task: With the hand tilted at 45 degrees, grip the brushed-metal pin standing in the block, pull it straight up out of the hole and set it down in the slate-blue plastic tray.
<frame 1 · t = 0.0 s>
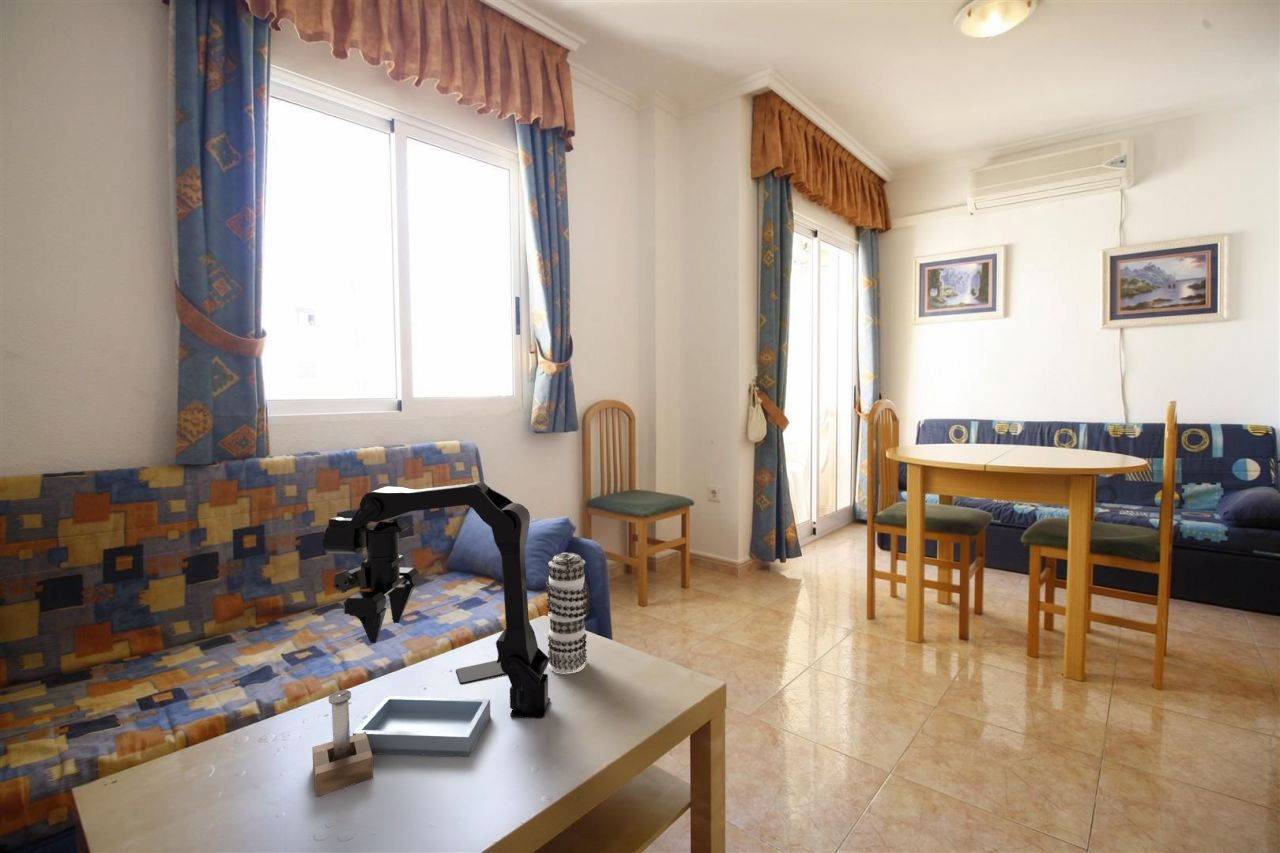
hand: (385, 632, 114), 15 cm above the table, tool pointing down, fingers open, 9 cm apart
metal pin: (341, 734, 95), in the pin block
pin block: (342, 772, 95), on the table
smartphone: (492, 672, 129), on the table
tray: (425, 734, 106), on the table
decorative candle: (567, 666, 131), on the table
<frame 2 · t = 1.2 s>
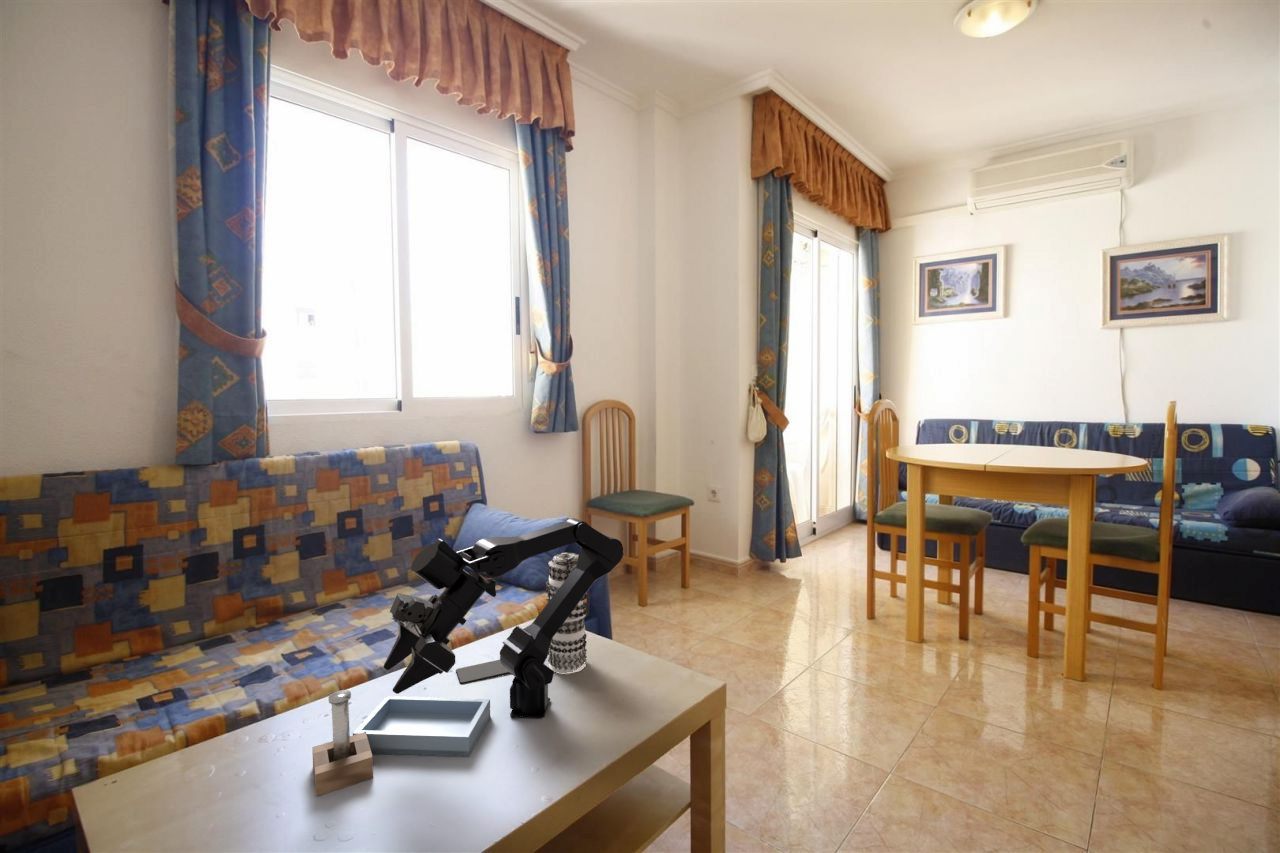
hand: (389, 680, 98), 13 cm above the table, tool tilted 45°, fingers open, 9 cm apart
nothing on the table moved.
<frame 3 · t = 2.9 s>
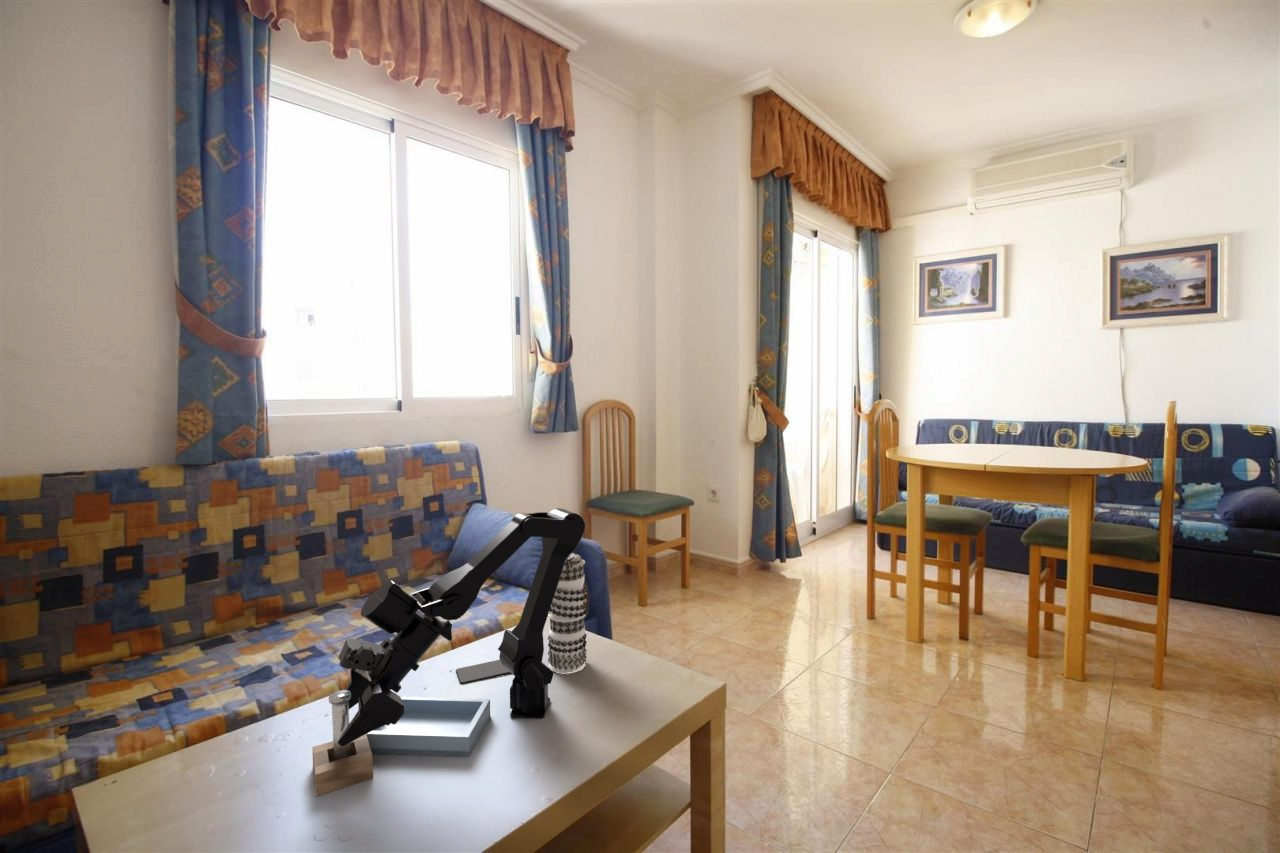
hand: (337, 729, 94), 7 cm above the table, tool tilted 45°, fingers open, 9 cm apart
nothing on the table moved.
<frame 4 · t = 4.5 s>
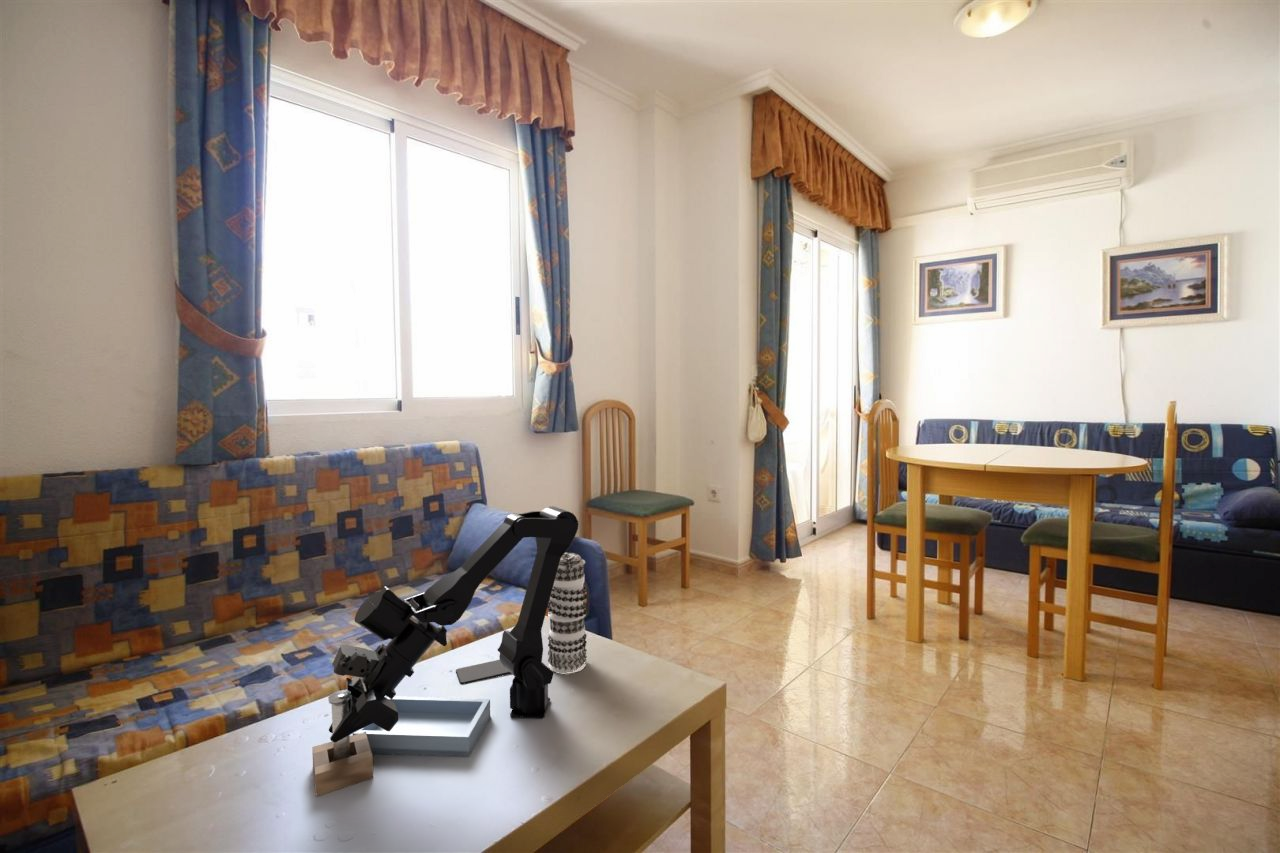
hand: (331, 736, 94), 7 cm above the table, tool tilted 45°, fingers closed on metal pin, 2 cm apart
metal pin: (341, 734, 95), in the pin block, touching gripper
everything else where it was.
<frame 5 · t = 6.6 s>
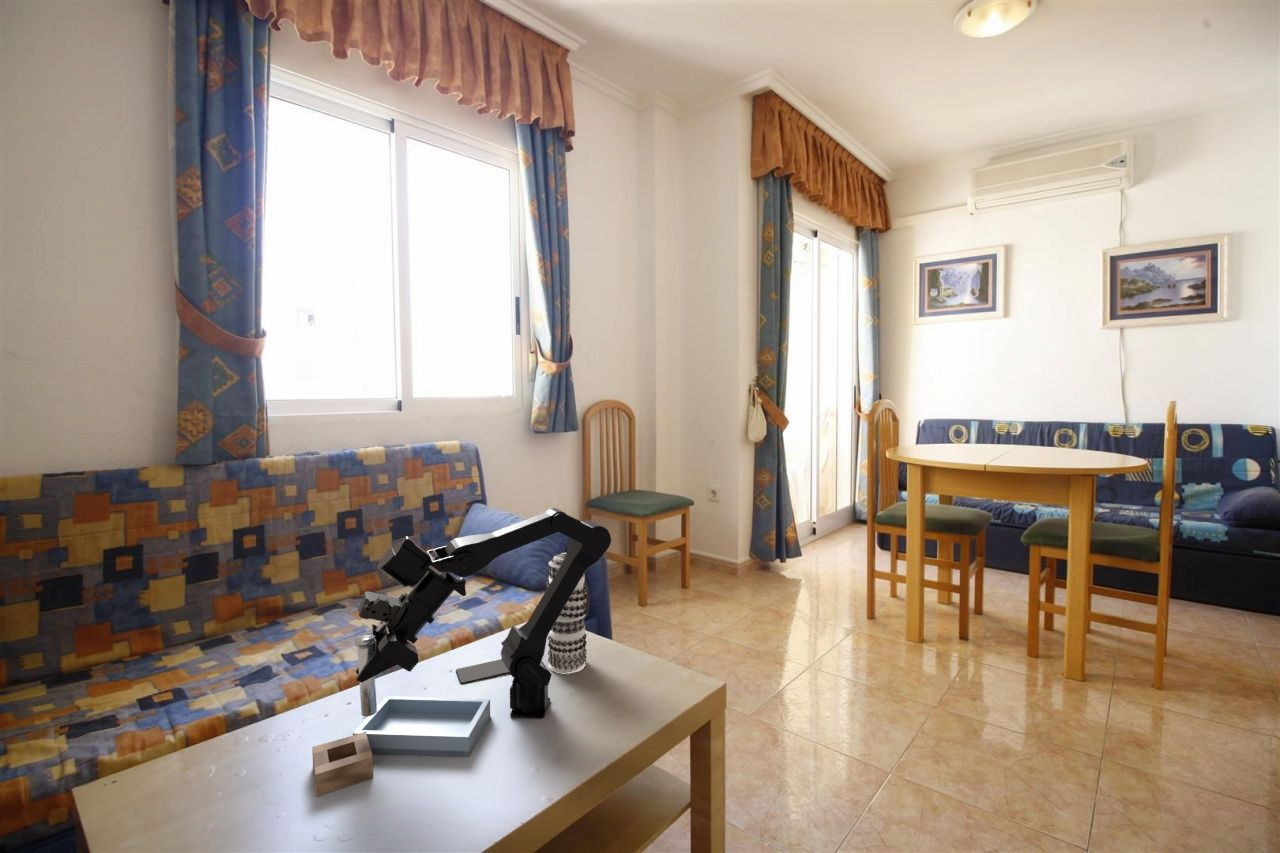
hand: (358, 677, 99), 13 cm above the table, tool tilted 45°, fingers closed on metal pin, 2 cm apart
metal pin: (367, 675, 100), point 13 cm above the table, touching gripper
everything else where it was.
when the fingers open (9 cm above the table, at t = 8.6 s): metal pin drops 2 cm, resting on tray.
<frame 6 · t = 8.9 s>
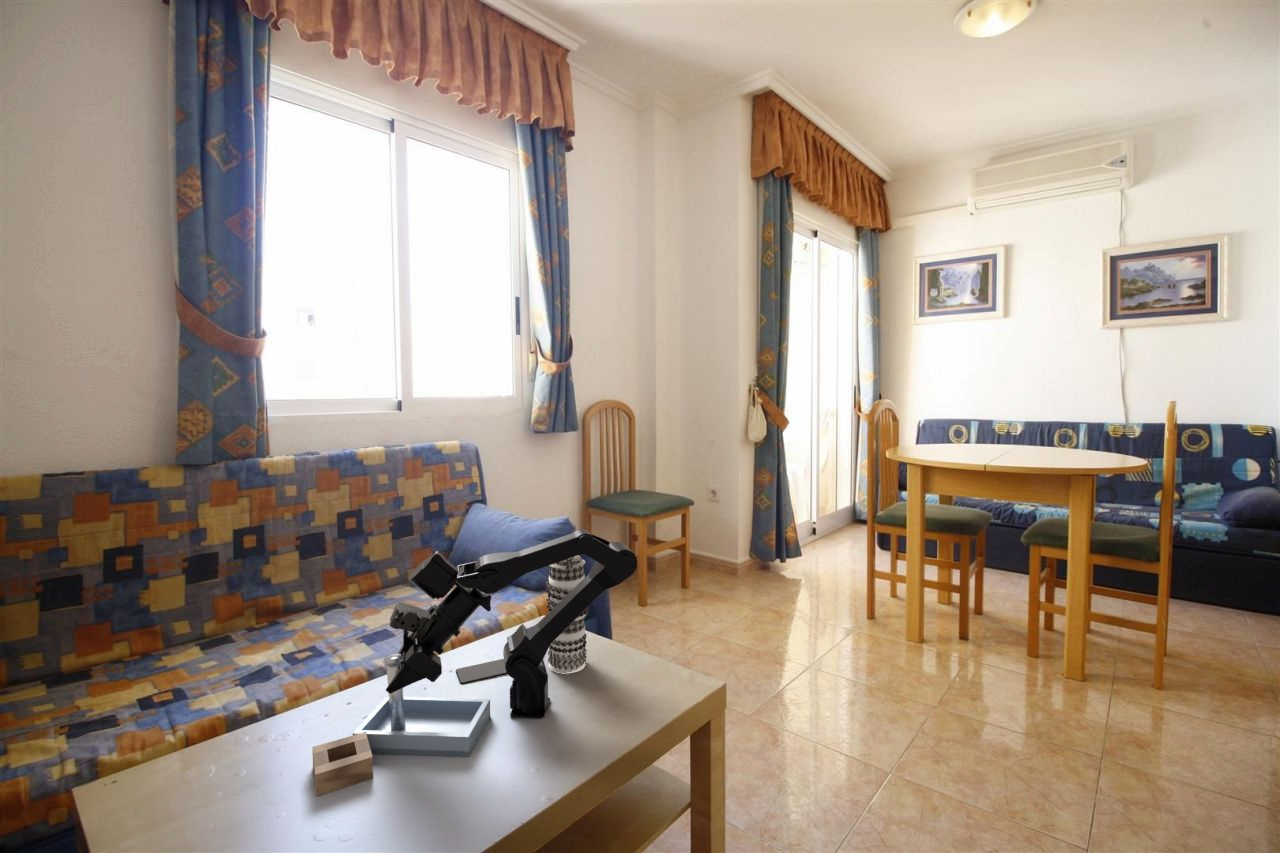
hand: (388, 683, 105), 10 cm above the table, tool tilted 45°, fingers open, 6 cm apart
metal pin: (395, 692, 105), in the tray, point 8 cm above the table
everything else where it was.
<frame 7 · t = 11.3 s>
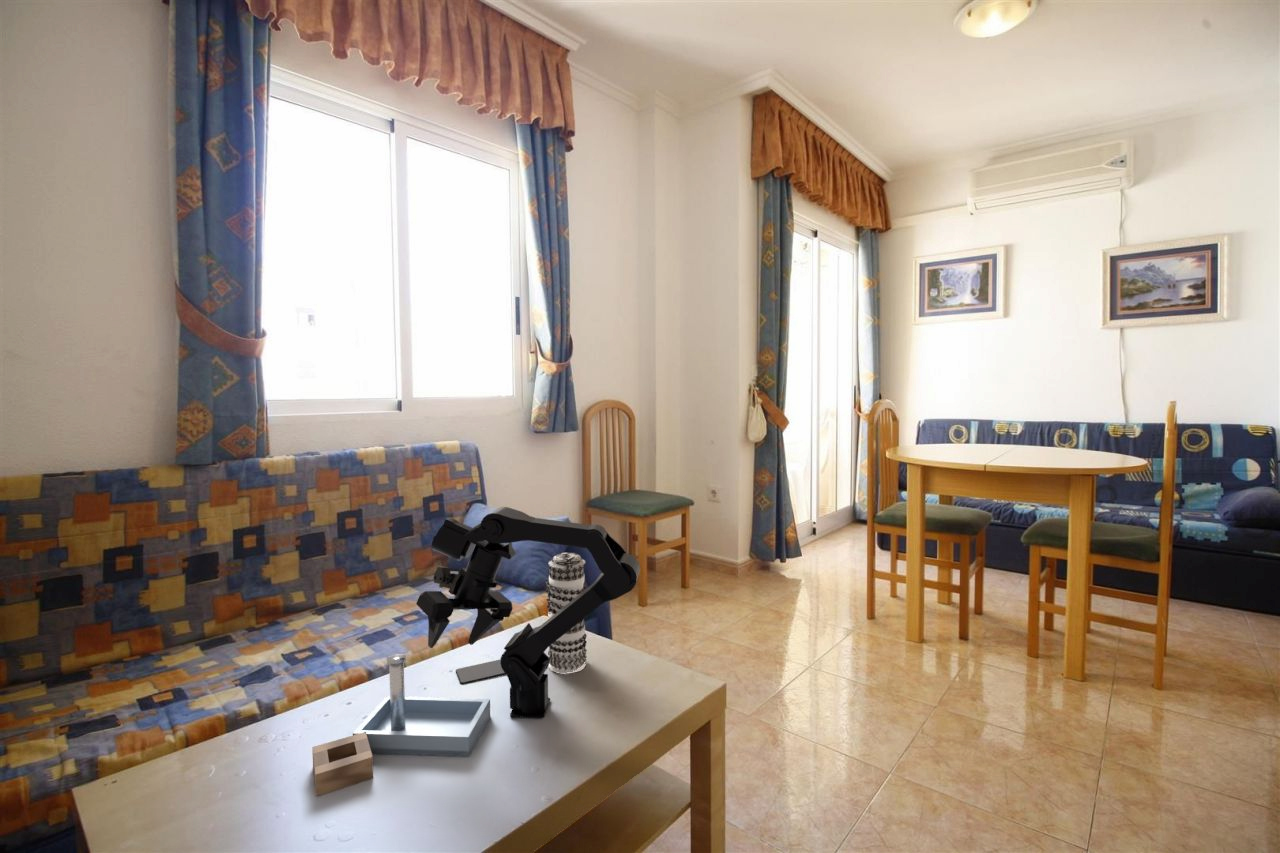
hand: (450, 645, 113), 13 cm above the table, tool tilted 25°, fingers open, 9 cm apart
nothing on the table moved.
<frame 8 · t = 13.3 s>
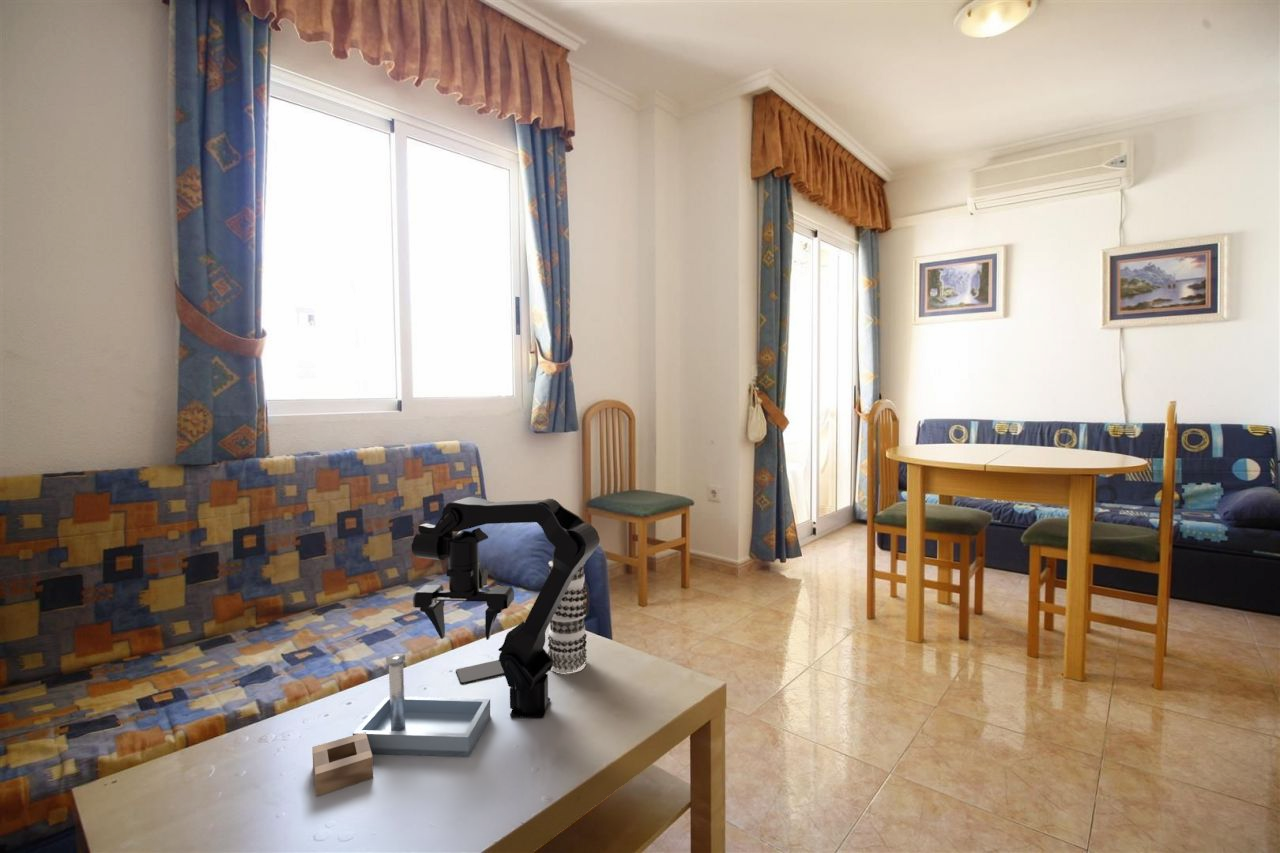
hand: (465, 638, 118), 12 cm above the table, tool pointing down, fingers open, 9 cm apart
nothing on the table moved.
at the end: metal pin inside the target area on the tray (5.0 cm from its centre), point 7.5 cm above the tray's base; the gripper is holding nothing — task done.
